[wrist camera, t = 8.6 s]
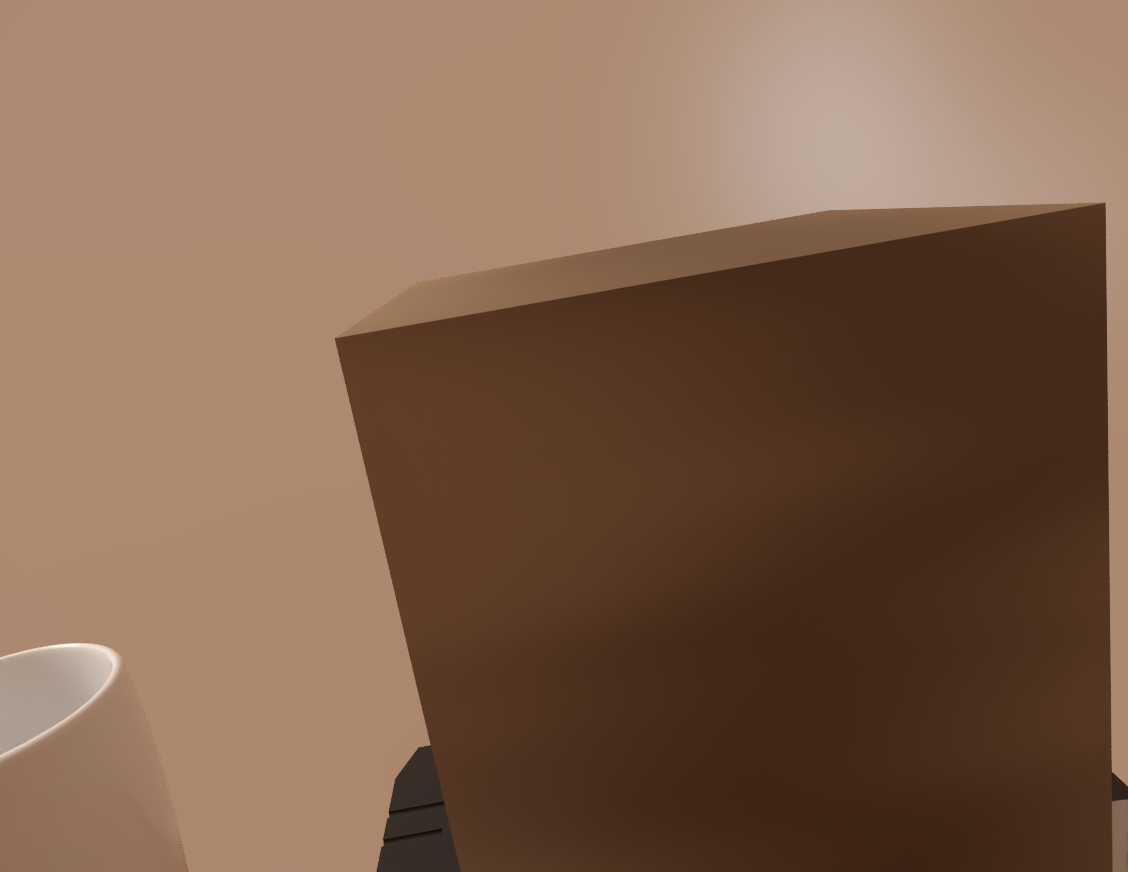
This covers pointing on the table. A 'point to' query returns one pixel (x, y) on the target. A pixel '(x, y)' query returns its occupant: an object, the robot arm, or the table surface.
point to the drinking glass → (80, 768)
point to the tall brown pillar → (759, 544)
